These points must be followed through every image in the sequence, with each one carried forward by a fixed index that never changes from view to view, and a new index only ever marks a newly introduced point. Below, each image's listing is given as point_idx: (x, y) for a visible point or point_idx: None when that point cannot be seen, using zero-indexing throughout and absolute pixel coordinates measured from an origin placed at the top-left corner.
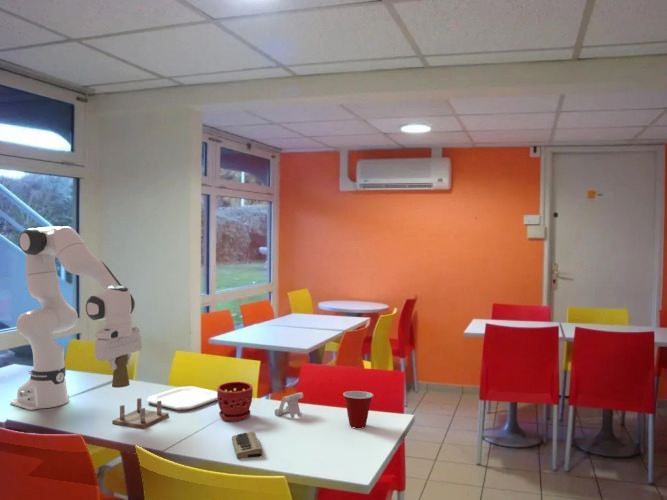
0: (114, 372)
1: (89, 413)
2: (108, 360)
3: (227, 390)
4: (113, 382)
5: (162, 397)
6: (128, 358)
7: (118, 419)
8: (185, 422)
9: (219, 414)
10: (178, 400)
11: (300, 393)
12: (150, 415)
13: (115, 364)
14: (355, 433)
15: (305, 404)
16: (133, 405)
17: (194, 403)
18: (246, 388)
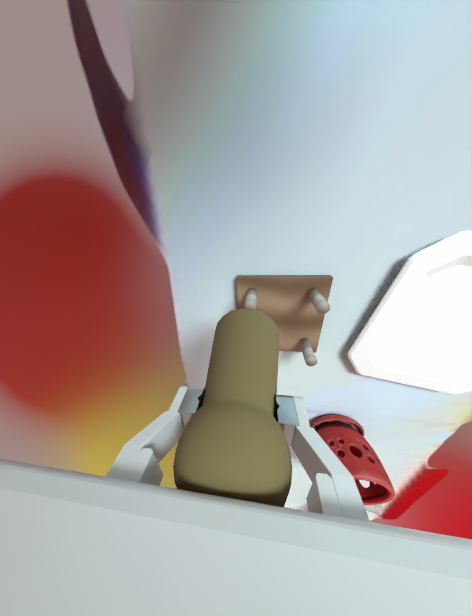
0: (208, 372)
1: (285, 132)
2: (122, 450)
3: (373, 463)
4: (214, 337)
5: (468, 267)
6: (307, 473)
7: (246, 286)
8: (290, 382)
9: (321, 420)
10: (427, 323)
11: (375, 513)
12: (293, 329)
13: (176, 437)
14: (305, 498)
15: (410, 472)
16: (394, 216)
17: (384, 372)
18: (378, 485)
